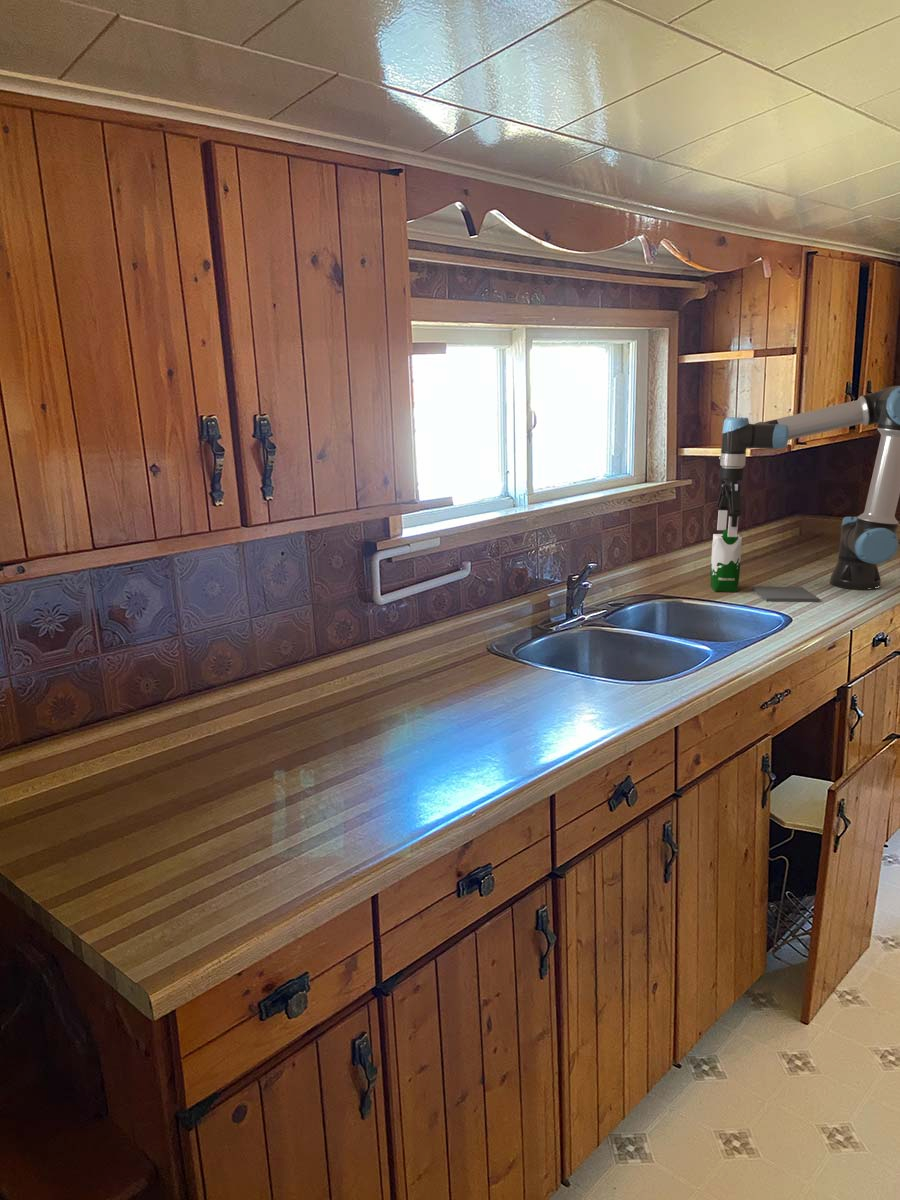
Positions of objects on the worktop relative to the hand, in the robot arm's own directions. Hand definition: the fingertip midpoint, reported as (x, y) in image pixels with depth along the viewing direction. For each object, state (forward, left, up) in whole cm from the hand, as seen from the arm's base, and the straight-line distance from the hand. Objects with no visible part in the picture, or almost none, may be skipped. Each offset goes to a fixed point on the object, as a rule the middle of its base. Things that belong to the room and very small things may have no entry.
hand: (726, 533), depth 270 cm
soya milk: (0, 0, -19) cm, 19 cm away
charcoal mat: (-17, +8, -19) cm, 27 cm away
